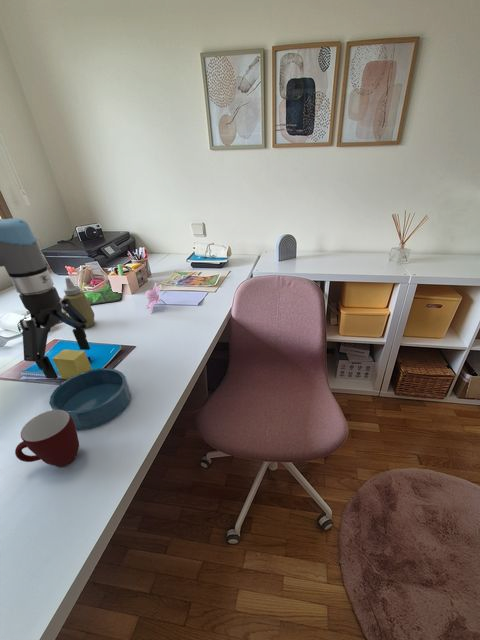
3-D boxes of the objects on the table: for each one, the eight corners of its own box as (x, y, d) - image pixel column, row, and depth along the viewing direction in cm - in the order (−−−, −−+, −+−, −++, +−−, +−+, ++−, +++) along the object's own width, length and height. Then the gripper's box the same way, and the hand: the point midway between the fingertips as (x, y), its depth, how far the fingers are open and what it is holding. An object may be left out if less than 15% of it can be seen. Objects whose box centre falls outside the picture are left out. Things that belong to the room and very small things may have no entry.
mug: (28, 491, 56) (2, 456, 50) (28, 460, 61) (4, 426, 56) (90, 463, 61) (72, 428, 55) (85, 437, 66) (68, 403, 61)
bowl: (41, 426, 69) (31, 410, 66) (86, 380, 83) (79, 366, 80) (107, 433, 67) (100, 417, 64) (142, 385, 81) (138, 370, 78)
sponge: (62, 378, 84) (51, 358, 80) (72, 369, 88) (63, 349, 84) (82, 380, 83) (73, 360, 79) (93, 371, 87) (84, 350, 83)
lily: (150, 303, 128) (135, 288, 121) (174, 291, 127) (160, 275, 119) (151, 322, 121) (136, 308, 114) (177, 310, 120) (162, 294, 112)
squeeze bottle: (94, 318, 115) (77, 272, 105) (100, 325, 110) (83, 278, 100) (71, 325, 111) (51, 277, 101) (76, 333, 106) (56, 284, 96)
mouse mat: (121, 300, 128) (121, 298, 128) (64, 309, 122) (63, 306, 122) (123, 280, 150) (123, 278, 149) (74, 286, 144) (74, 284, 143)
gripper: (6, 313, 61) (49, 393, 72) (84, 272, 81) (107, 339, 93) (-26, 312, 61) (21, 390, 73) (59, 272, 82) (85, 338, 94)
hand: (69, 362), depth 83 cm, fingers open, 13 cm apart
